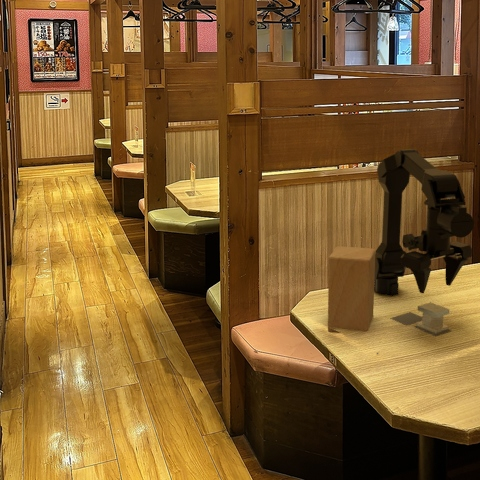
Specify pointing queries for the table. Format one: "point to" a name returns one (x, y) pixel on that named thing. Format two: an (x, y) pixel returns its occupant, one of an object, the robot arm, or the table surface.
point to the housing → (433, 318)
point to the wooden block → (351, 288)
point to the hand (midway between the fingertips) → (435, 288)
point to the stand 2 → (432, 333)
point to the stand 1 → (407, 318)
